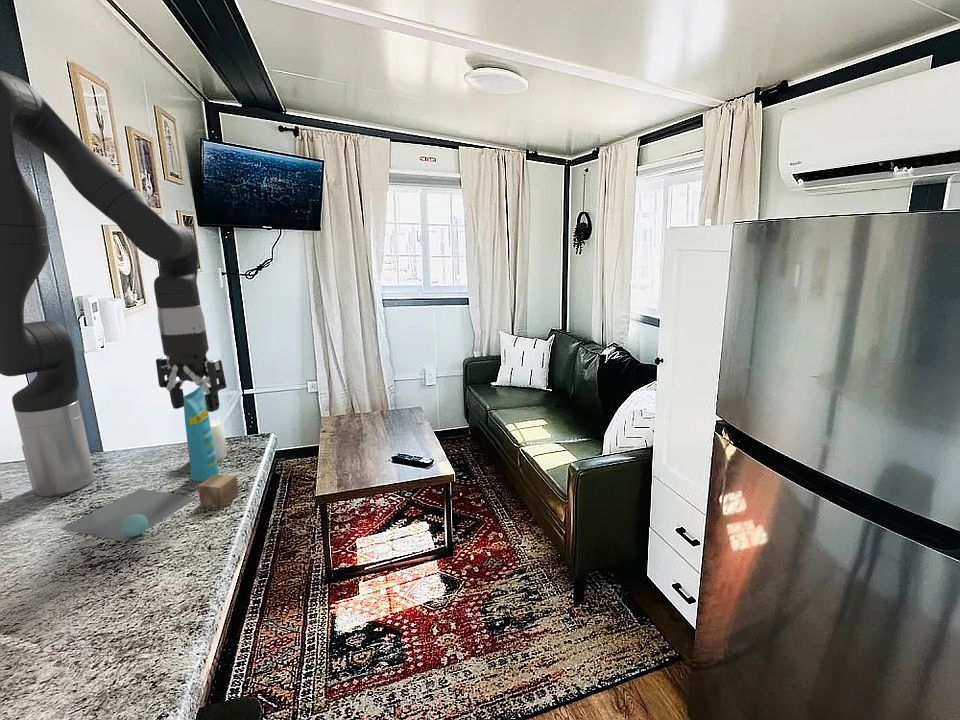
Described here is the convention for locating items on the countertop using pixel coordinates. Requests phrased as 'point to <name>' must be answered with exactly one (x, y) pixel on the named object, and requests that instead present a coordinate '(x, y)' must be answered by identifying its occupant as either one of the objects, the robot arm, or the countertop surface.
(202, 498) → the walnut block
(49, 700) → the countertop surface
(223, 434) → the white rounded cylinder
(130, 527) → the teal ball
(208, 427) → the tube
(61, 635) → the countertop surface
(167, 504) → the plate
